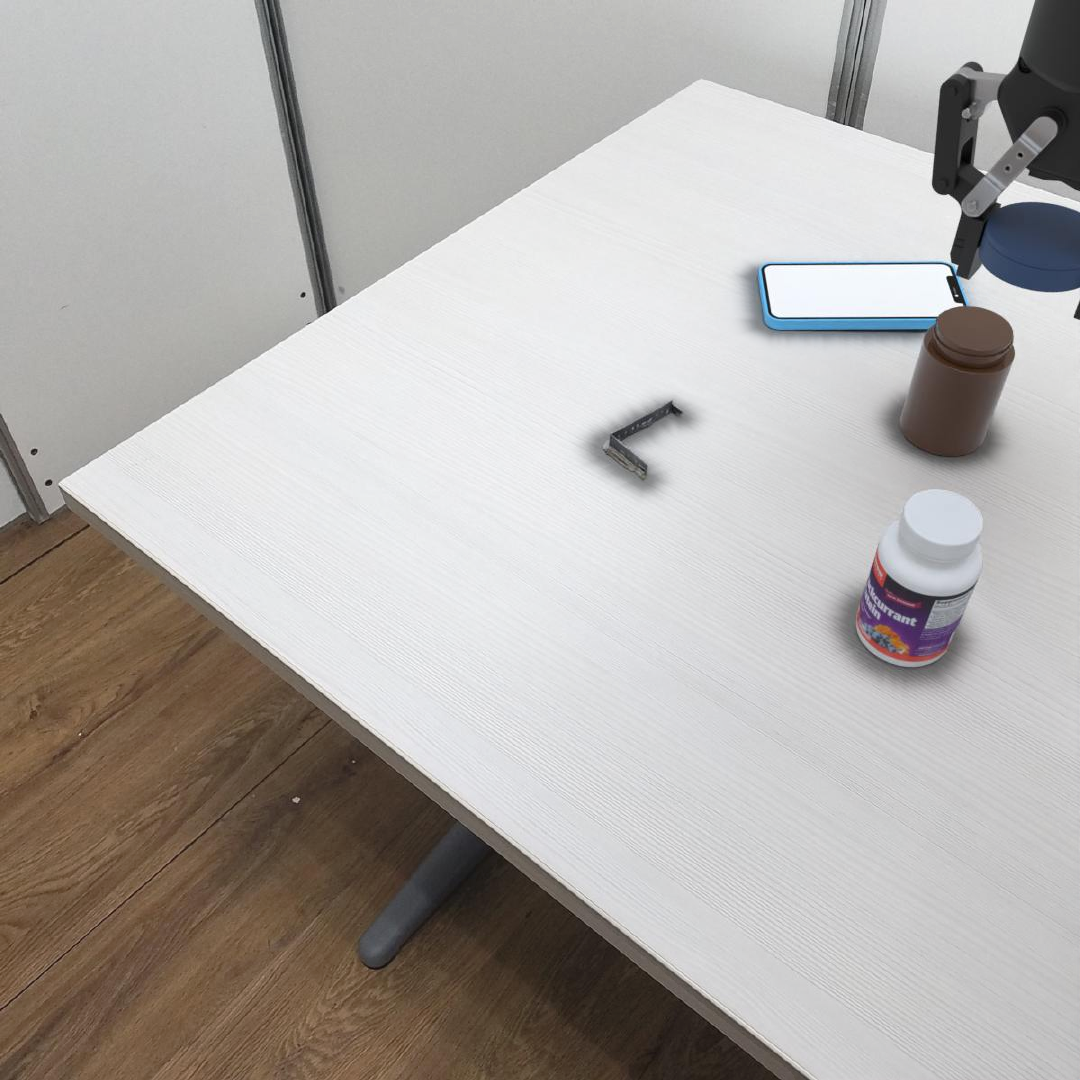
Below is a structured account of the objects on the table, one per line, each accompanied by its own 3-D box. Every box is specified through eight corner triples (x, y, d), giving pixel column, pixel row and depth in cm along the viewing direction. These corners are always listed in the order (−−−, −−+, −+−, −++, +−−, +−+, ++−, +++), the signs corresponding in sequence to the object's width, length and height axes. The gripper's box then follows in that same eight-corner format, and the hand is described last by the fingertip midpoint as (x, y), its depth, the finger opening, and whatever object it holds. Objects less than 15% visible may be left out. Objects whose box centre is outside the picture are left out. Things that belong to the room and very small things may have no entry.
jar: (995, 420, 78) (1033, 319, 72) (968, 468, 75) (1005, 366, 69) (916, 391, 80) (947, 291, 74) (886, 436, 77) (915, 335, 71)
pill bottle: (834, 616, 67) (868, 499, 60) (907, 583, 68) (949, 465, 61) (894, 684, 64) (938, 569, 56) (969, 648, 65) (1021, 531, 58)
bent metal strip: (676, 469, 73) (598, 459, 74) (673, 484, 74) (597, 474, 75) (684, 397, 78) (612, 388, 79) (682, 412, 79) (610, 404, 80)
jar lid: (1085, 232, 61) (1095, 204, 60) (1108, 296, 57) (1120, 267, 56) (971, 227, 62) (979, 198, 61) (986, 289, 58) (995, 260, 57)
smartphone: (757, 262, 90) (952, 261, 89) (756, 275, 91) (949, 273, 90) (767, 320, 85) (974, 319, 84) (765, 333, 85) (970, 332, 85)
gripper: (945, -51, 50) (870, 279, 62) (1301, 31, 44) (1140, 379, 56) (1012, -100, 54) (929, 219, 66) (1347, -32, 48) (1187, 306, 60)
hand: (1026, 291), depth 61 cm, fingers closed on jar lid, 5 cm apart
